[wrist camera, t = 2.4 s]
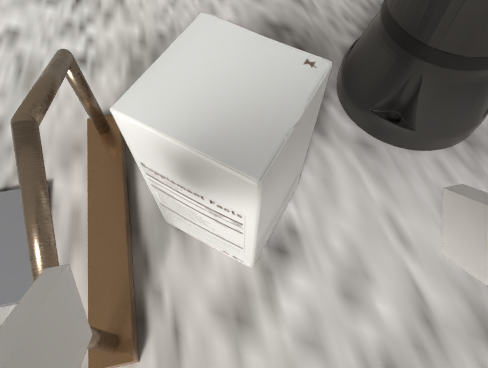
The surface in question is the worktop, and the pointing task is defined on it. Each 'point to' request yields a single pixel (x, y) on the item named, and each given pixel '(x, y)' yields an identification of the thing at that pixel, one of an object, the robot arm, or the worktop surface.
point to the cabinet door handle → (99, 212)
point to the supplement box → (224, 131)
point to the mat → (13, 250)
